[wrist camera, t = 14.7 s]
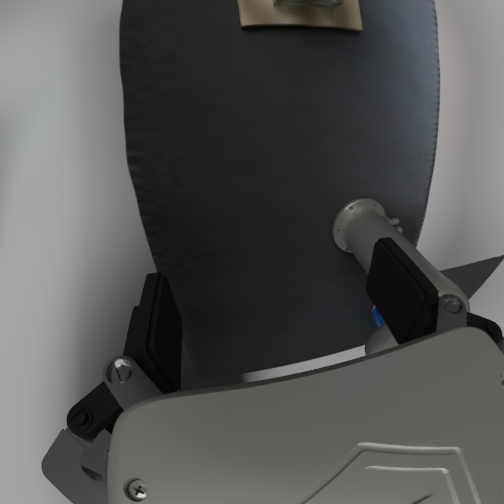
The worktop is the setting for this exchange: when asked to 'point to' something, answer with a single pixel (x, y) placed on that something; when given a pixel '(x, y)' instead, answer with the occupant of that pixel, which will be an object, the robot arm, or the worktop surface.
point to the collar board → (301, 13)
